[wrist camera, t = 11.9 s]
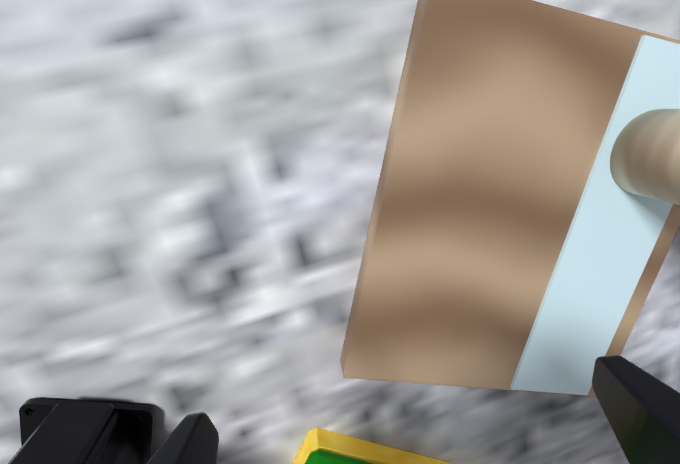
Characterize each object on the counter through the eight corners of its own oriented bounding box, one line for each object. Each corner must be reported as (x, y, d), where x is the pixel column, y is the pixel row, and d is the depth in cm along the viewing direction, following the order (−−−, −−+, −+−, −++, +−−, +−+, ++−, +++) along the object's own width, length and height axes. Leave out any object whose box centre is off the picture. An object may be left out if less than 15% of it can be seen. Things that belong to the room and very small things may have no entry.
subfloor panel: (582, 380, 24) (603, 399, 22) (340, 359, 21) (344, 380, 20) (720, 65, 19) (760, 61, 17) (420, -15, 16) (435, -29, 14)
